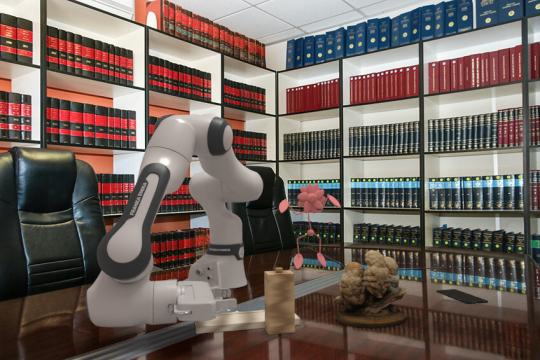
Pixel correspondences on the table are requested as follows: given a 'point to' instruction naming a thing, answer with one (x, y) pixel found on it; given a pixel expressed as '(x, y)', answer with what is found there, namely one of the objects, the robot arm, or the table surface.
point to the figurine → (311, 202)
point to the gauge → (279, 301)
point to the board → (235, 322)
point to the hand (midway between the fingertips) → (233, 297)
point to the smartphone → (462, 296)
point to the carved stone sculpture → (370, 293)
